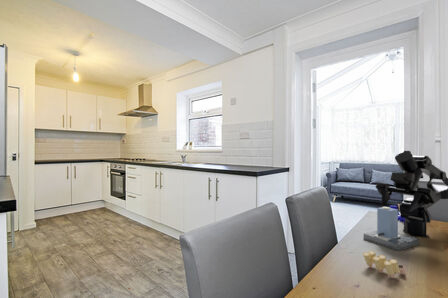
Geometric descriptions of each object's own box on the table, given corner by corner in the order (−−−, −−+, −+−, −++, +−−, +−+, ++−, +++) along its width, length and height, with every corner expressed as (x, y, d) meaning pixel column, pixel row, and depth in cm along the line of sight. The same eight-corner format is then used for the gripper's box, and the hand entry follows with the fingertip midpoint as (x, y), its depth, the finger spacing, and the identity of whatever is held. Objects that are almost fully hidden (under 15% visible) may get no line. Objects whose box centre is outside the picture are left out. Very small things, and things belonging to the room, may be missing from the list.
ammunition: (389, 263, 59) (406, 258, 62) (361, 252, 65) (379, 247, 69) (389, 282, 59) (407, 275, 62) (361, 268, 65) (379, 263, 69)
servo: (387, 237, 89) (387, 204, 89) (400, 241, 85) (400, 207, 85) (372, 242, 84) (372, 207, 85) (384, 246, 80) (384, 210, 81)
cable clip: (386, 216, 122) (386, 205, 122) (395, 216, 121) (395, 205, 121) (400, 223, 110) (400, 211, 110) (411, 223, 109) (410, 211, 109)
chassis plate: (384, 233, 94) (384, 228, 94) (418, 244, 83) (418, 238, 83) (363, 238, 88) (363, 233, 88) (398, 250, 77) (398, 245, 77)
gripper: (377, 164, 98) (362, 190, 93) (432, 166, 82) (416, 199, 77) (388, 181, 102) (373, 207, 97) (442, 187, 85) (428, 219, 80)
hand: (395, 208), depth 87 cm, fingers open, 9 cm apart
